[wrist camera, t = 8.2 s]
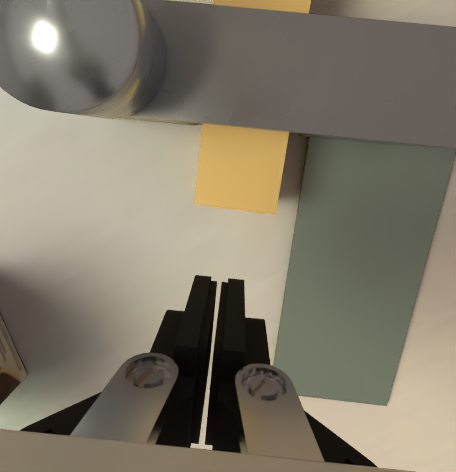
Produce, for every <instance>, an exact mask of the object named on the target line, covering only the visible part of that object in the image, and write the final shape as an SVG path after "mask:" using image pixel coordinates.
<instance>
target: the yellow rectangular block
mask: <svg viewBox="0 0 456 472" xmlns="http://www.w3.org/2000/svg"><path fill="white" fill-rule="evenodd" d="M310 4H311V0H214V5H222V6H233V7H244V8H255V9H266V10H276V11H287V12H298V13H309V10H310ZM288 137H289V132H280V131H270V130H260V129H250V128H240V127H230V126H220V125H210V124H202V129H201V139H200V149H199V159H198V170H197V180H196V190H195V201H194V204H197V205H205V206H212V207H220V208H228V209H235V210H243V211H250V212H258V213H266V214H273V215H276V209H277V203H278V197H279V191H280V185H281V179H282V173H283V167H284V161H285V155H286V149H287V143H288Z"/></svg>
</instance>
